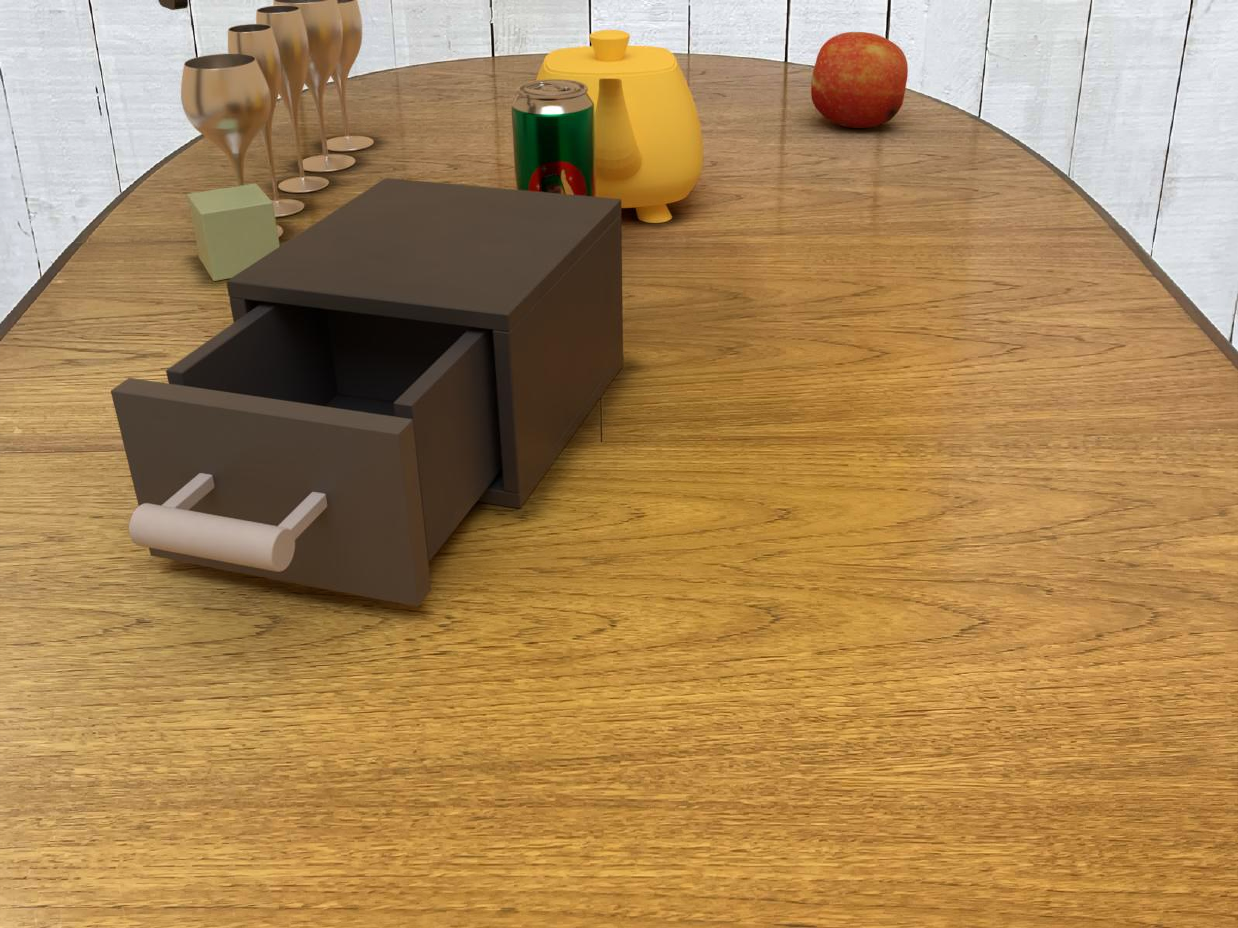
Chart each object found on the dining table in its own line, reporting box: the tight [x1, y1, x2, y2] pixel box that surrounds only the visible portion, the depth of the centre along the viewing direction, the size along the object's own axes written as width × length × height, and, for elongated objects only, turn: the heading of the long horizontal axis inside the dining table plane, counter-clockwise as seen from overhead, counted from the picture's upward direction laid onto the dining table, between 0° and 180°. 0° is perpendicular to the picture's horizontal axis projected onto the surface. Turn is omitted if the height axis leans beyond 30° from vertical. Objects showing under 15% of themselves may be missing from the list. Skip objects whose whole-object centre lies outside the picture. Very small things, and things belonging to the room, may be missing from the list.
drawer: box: [110, 302, 502, 607], centre depth 53 cm, size 19×12×8 cm, turn 162°
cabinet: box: [226, 177, 624, 509], centre depth 63 cm, size 16×14×10 cm
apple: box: [810, 31, 909, 129], centre depth 109 cm, size 8×8×8 cm
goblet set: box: [180, 0, 375, 239], centre depth 95 cm, size 28×6×13 cm, turn 173°
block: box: [186, 183, 281, 282], centre depth 83 cm, size 5×5×5 cm
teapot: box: [535, 29, 704, 224], centre depth 90 cm, size 13×20×12 cm
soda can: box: [510, 79, 596, 197], centre depth 79 cm, size 5×5×12 cm
